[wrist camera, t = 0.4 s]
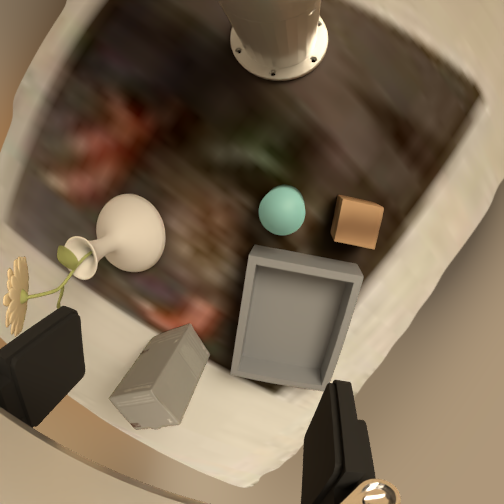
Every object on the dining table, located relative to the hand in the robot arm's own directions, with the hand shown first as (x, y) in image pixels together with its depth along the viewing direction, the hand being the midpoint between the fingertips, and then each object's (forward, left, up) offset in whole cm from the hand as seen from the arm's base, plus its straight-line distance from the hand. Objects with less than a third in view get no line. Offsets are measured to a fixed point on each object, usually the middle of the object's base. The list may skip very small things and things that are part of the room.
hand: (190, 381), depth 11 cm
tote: (+13, +5, -33) cm, 36 cm away
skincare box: (+23, -11, -33) cm, 42 cm away
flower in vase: (+6, -20, -33) cm, 39 cm away
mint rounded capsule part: (-2, +1, -33) cm, 33 cm away
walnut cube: (-2, +10, -33) cm, 35 cm away
